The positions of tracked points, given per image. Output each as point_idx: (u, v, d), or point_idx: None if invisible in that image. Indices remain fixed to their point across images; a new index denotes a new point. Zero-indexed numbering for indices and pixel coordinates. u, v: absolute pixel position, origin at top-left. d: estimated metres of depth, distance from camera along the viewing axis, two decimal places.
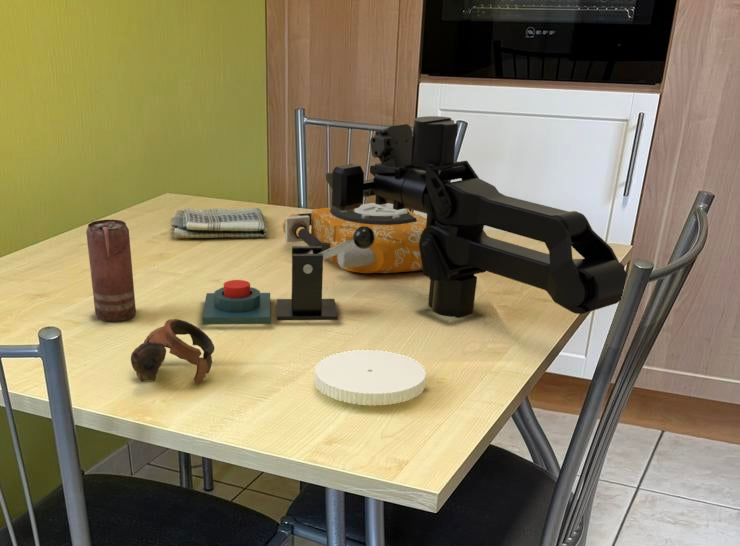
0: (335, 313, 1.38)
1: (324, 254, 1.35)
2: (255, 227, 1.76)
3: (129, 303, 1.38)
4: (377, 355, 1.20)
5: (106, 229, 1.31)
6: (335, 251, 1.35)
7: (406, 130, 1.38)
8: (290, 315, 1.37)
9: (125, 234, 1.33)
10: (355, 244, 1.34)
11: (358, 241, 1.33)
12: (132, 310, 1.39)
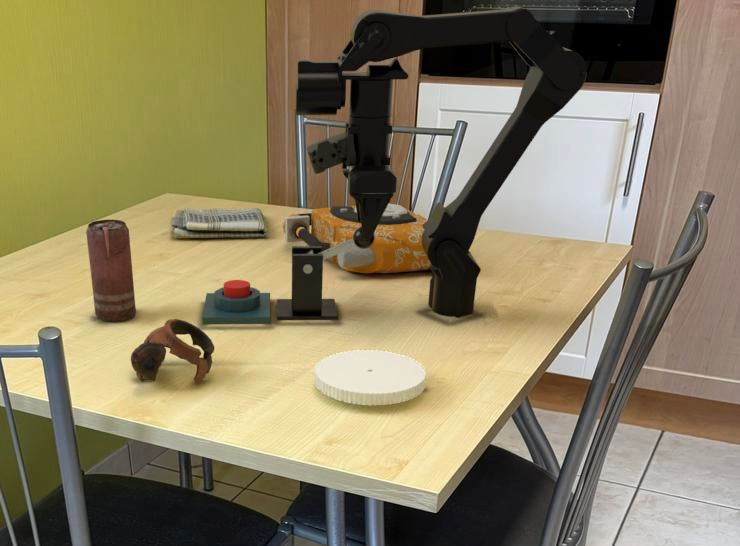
0: (335, 313, 1.38)
1: (324, 254, 1.35)
2: (255, 227, 1.76)
3: (129, 303, 1.38)
4: (377, 355, 1.20)
5: (106, 229, 1.31)
6: (335, 251, 1.35)
7: (312, 145, 1.29)
8: (290, 315, 1.37)
9: (125, 234, 1.33)
10: (355, 244, 1.34)
11: (358, 241, 1.33)
12: (132, 310, 1.39)
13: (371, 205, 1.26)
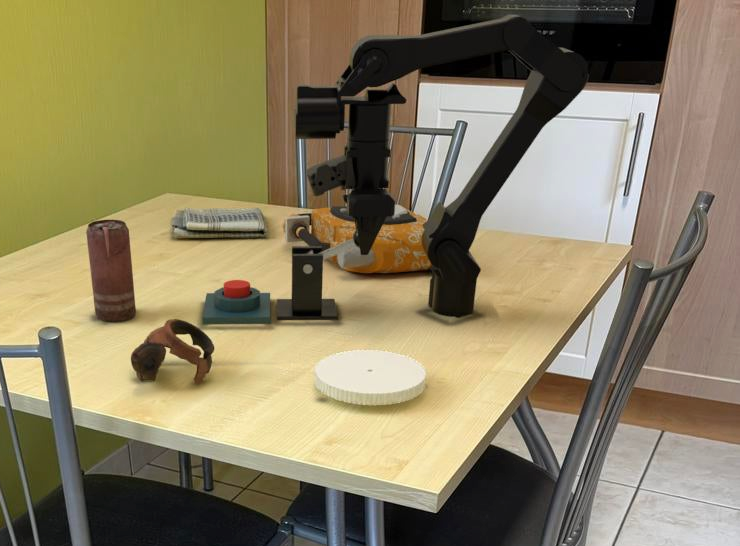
0: (335, 313, 1.38)
1: (324, 254, 1.35)
2: (255, 227, 1.76)
3: (129, 303, 1.38)
4: (377, 355, 1.20)
5: (106, 229, 1.31)
6: (335, 251, 1.35)
7: (312, 168, 1.31)
8: (290, 315, 1.37)
9: (125, 234, 1.33)
10: (355, 244, 1.34)
11: (358, 241, 1.33)
12: (132, 310, 1.39)
13: (368, 222, 1.30)
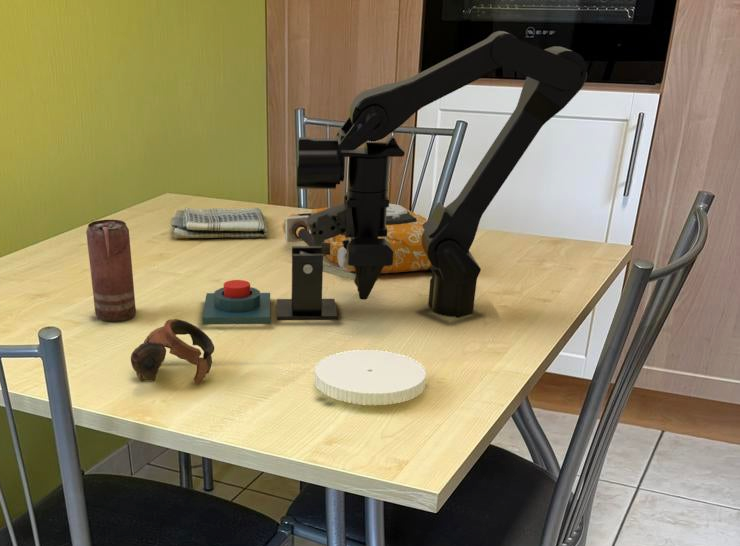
0: (335, 313, 1.38)
1: (326, 267, 1.36)
2: (255, 227, 1.76)
3: (129, 303, 1.38)
4: (377, 355, 1.20)
5: (106, 229, 1.31)
6: (336, 272, 1.37)
7: (312, 216, 1.34)
8: (290, 315, 1.37)
9: (125, 234, 1.33)
10: (355, 279, 1.37)
11: None
12: (132, 310, 1.39)
13: (367, 268, 1.34)
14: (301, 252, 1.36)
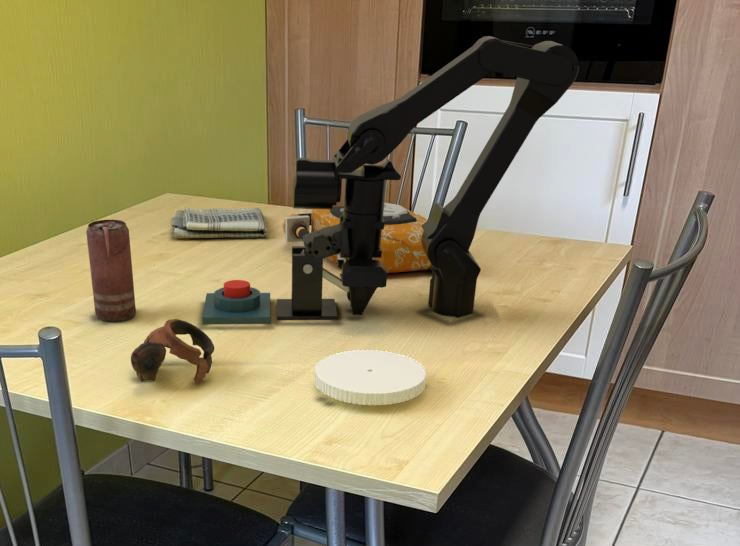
0: (335, 313, 1.38)
1: (324, 272, 1.37)
2: (255, 227, 1.76)
3: (129, 303, 1.38)
4: (377, 355, 1.20)
5: (106, 229, 1.31)
6: (333, 279, 1.37)
7: (308, 235, 1.36)
8: (290, 315, 1.37)
9: (125, 234, 1.33)
10: (348, 291, 1.38)
11: None
12: (132, 310, 1.39)
13: (361, 288, 1.36)
14: (304, 251, 1.36)
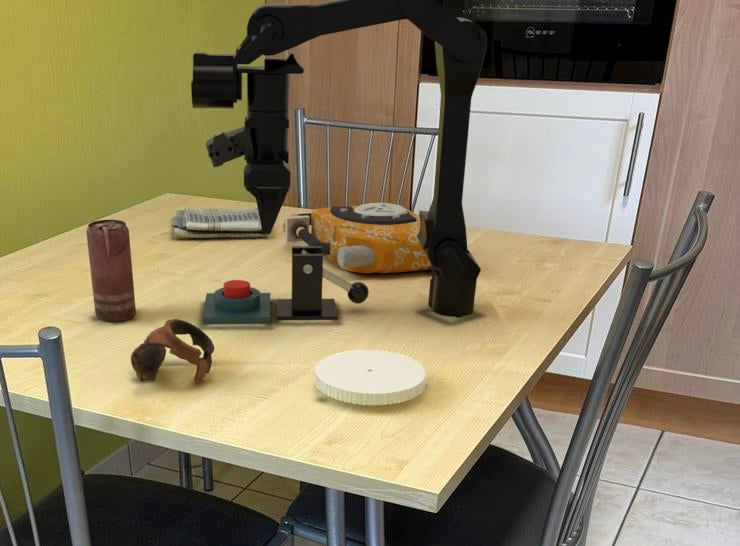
0: (335, 313, 1.38)
1: (324, 272, 1.37)
2: (255, 227, 1.76)
3: (129, 303, 1.38)
4: (377, 355, 1.20)
5: (106, 229, 1.31)
6: (333, 279, 1.37)
7: (212, 138, 1.29)
8: (290, 315, 1.37)
9: (125, 234, 1.33)
10: (349, 290, 1.38)
11: (354, 291, 1.37)
12: (132, 310, 1.39)
13: (268, 199, 1.26)
14: (304, 251, 1.36)
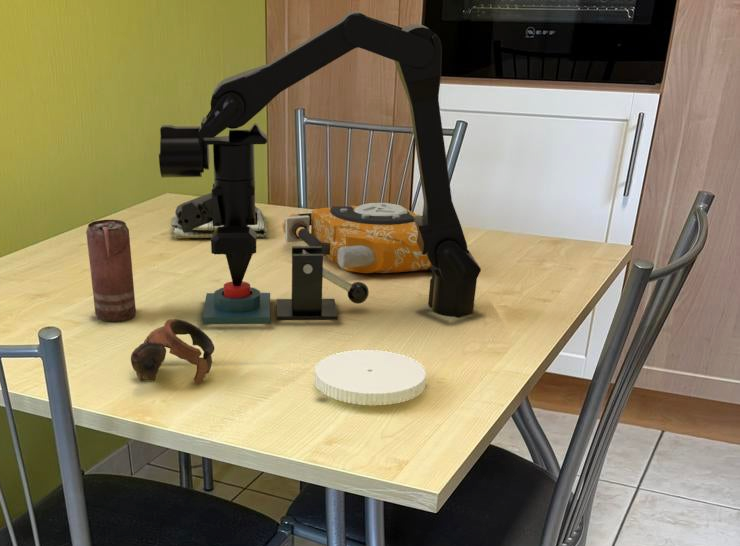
0: (335, 313, 1.38)
1: (324, 272, 1.37)
2: (255, 227, 1.76)
3: (129, 303, 1.38)
4: (377, 355, 1.20)
5: (106, 229, 1.31)
6: (333, 279, 1.37)
7: (182, 204, 1.33)
8: (290, 315, 1.37)
9: (125, 234, 1.33)
10: (349, 290, 1.38)
11: (354, 291, 1.37)
12: (132, 310, 1.39)
13: (237, 255, 1.35)
14: (304, 251, 1.36)
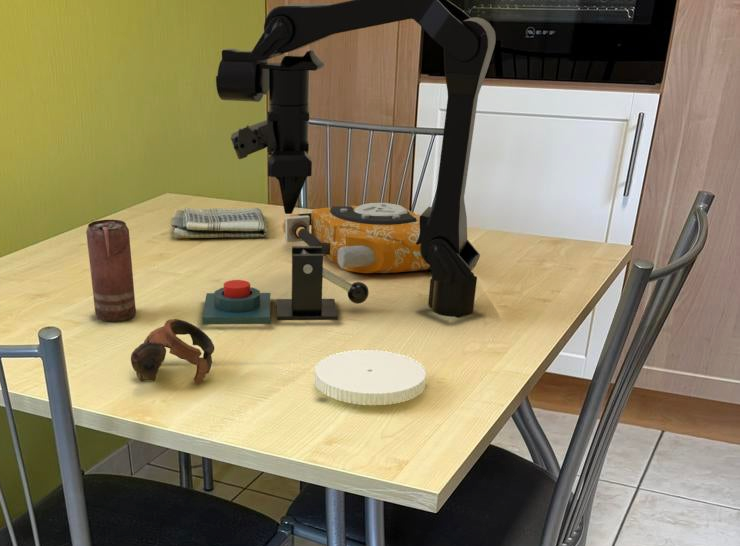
0: (335, 313, 1.38)
1: (324, 272, 1.37)
2: (255, 227, 1.76)
3: (129, 303, 1.38)
4: (377, 355, 1.20)
5: (106, 229, 1.31)
6: (333, 279, 1.37)
7: (236, 132, 1.37)
8: (290, 315, 1.37)
9: (125, 234, 1.33)
10: (349, 290, 1.38)
11: (354, 291, 1.37)
12: (132, 310, 1.39)
13: (290, 182, 1.38)
14: (304, 251, 1.36)
